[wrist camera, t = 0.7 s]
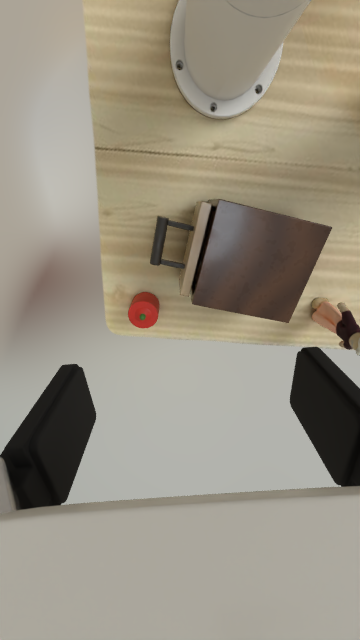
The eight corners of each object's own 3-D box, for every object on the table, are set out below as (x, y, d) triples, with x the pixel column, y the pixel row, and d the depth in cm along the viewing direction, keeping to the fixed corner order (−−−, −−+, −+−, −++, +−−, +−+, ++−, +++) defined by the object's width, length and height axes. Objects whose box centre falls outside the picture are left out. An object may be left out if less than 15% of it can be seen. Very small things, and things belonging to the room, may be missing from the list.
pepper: (134, 289, 40) (128, 301, 35) (161, 295, 41) (160, 307, 36) (130, 314, 42) (124, 329, 37) (156, 319, 43) (154, 334, 38)
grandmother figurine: (303, 298, 42) (351, 335, 30) (325, 288, 41) (384, 321, 29) (315, 333, 45) (363, 378, 33) (336, 323, 44) (393, 366, 32)
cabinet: (188, 283, 40) (191, 304, 32) (208, 199, 35) (219, 198, 27) (266, 299, 42) (288, 323, 33) (296, 221, 36) (332, 227, 28)
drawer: (149, 273, 38) (144, 288, 32) (163, 193, 33) (160, 191, 27) (253, 294, 40) (268, 312, 34) (280, 221, 35) (304, 226, 29)
